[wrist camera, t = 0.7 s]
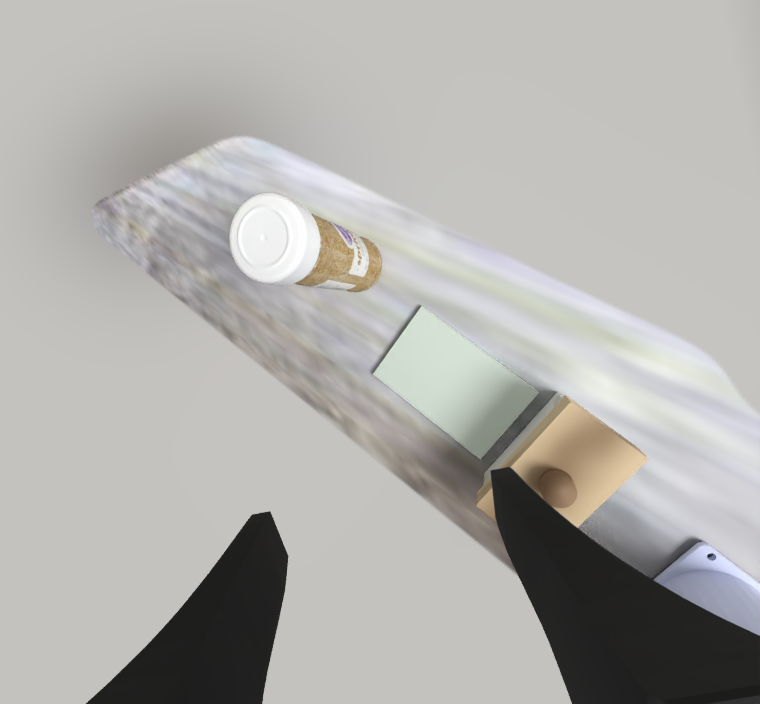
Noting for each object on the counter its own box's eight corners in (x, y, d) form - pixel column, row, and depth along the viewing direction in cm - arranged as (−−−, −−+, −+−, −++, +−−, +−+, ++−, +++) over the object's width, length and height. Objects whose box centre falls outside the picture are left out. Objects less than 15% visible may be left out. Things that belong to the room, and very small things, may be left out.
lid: (637, 447, 25) (656, 467, 22) (539, 542, 27) (545, 572, 24) (565, 394, 26) (574, 406, 23) (477, 492, 28) (474, 514, 25)
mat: (538, 391, 29) (539, 392, 28) (480, 457, 31) (480, 459, 30) (422, 306, 31) (421, 306, 30) (374, 373, 33) (372, 374, 32)
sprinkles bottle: (393, 257, 31) (320, 222, 18) (363, 303, 32) (274, 301, 19) (350, 226, 32) (251, 172, 19) (322, 272, 33) (211, 251, 20)
